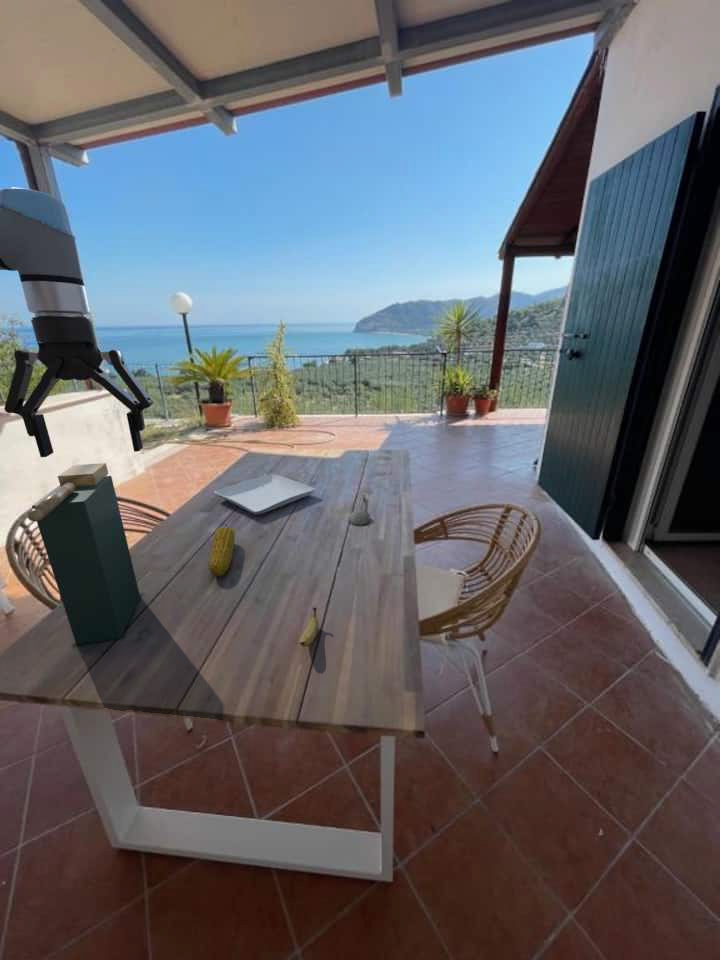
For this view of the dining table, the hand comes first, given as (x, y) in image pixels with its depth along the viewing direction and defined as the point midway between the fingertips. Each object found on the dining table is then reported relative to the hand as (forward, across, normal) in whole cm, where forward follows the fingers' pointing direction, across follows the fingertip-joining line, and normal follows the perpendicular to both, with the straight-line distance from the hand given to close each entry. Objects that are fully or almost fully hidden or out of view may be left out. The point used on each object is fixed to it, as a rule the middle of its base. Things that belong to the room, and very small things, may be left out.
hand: (94, 452), depth 66 cm
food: (+39, -15, -26) cm, 49 cm away
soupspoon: (+38, -60, -46) cm, 85 cm away
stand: (+39, +7, -7) cm, 40 cm away
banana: (+39, -34, +10) cm, 52 cm away
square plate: (+39, -28, -67) cm, 82 cm away
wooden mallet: (+9, +7, -4) cm, 12 cm away
